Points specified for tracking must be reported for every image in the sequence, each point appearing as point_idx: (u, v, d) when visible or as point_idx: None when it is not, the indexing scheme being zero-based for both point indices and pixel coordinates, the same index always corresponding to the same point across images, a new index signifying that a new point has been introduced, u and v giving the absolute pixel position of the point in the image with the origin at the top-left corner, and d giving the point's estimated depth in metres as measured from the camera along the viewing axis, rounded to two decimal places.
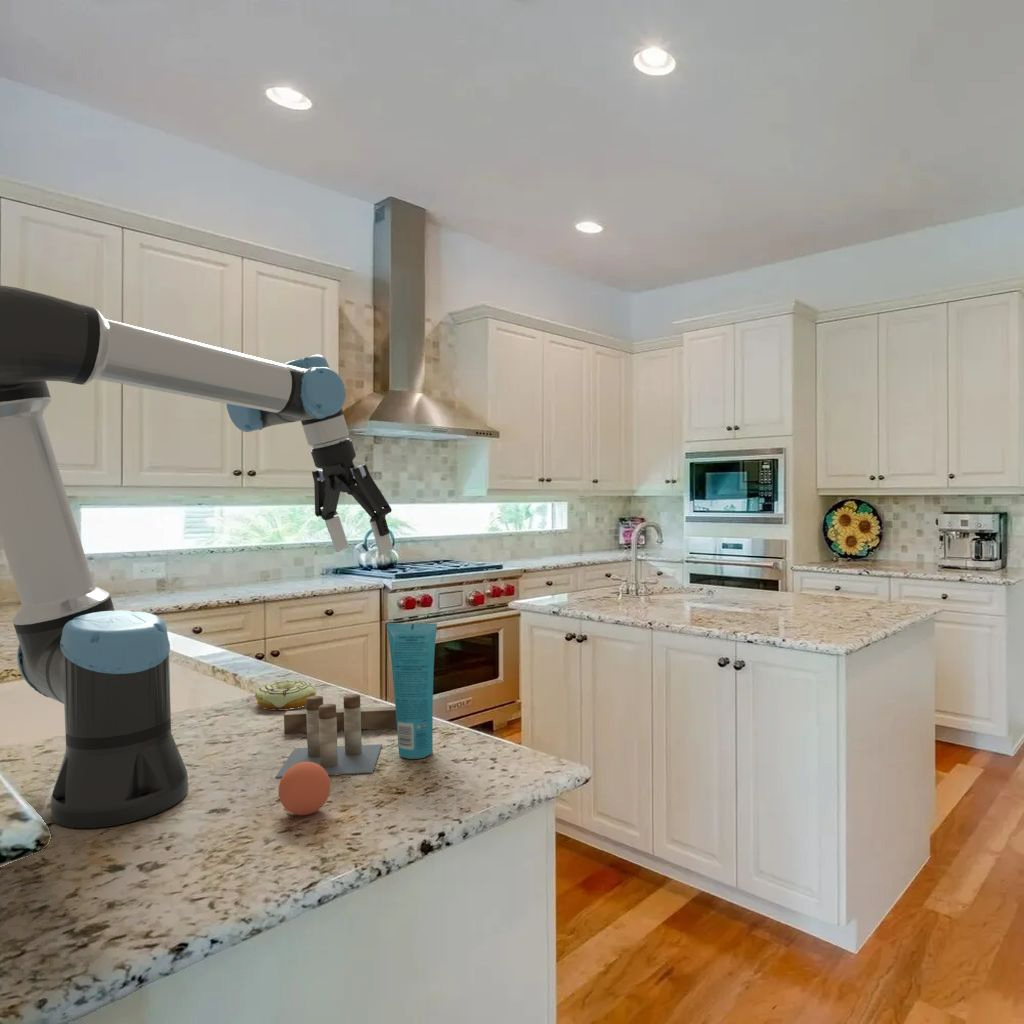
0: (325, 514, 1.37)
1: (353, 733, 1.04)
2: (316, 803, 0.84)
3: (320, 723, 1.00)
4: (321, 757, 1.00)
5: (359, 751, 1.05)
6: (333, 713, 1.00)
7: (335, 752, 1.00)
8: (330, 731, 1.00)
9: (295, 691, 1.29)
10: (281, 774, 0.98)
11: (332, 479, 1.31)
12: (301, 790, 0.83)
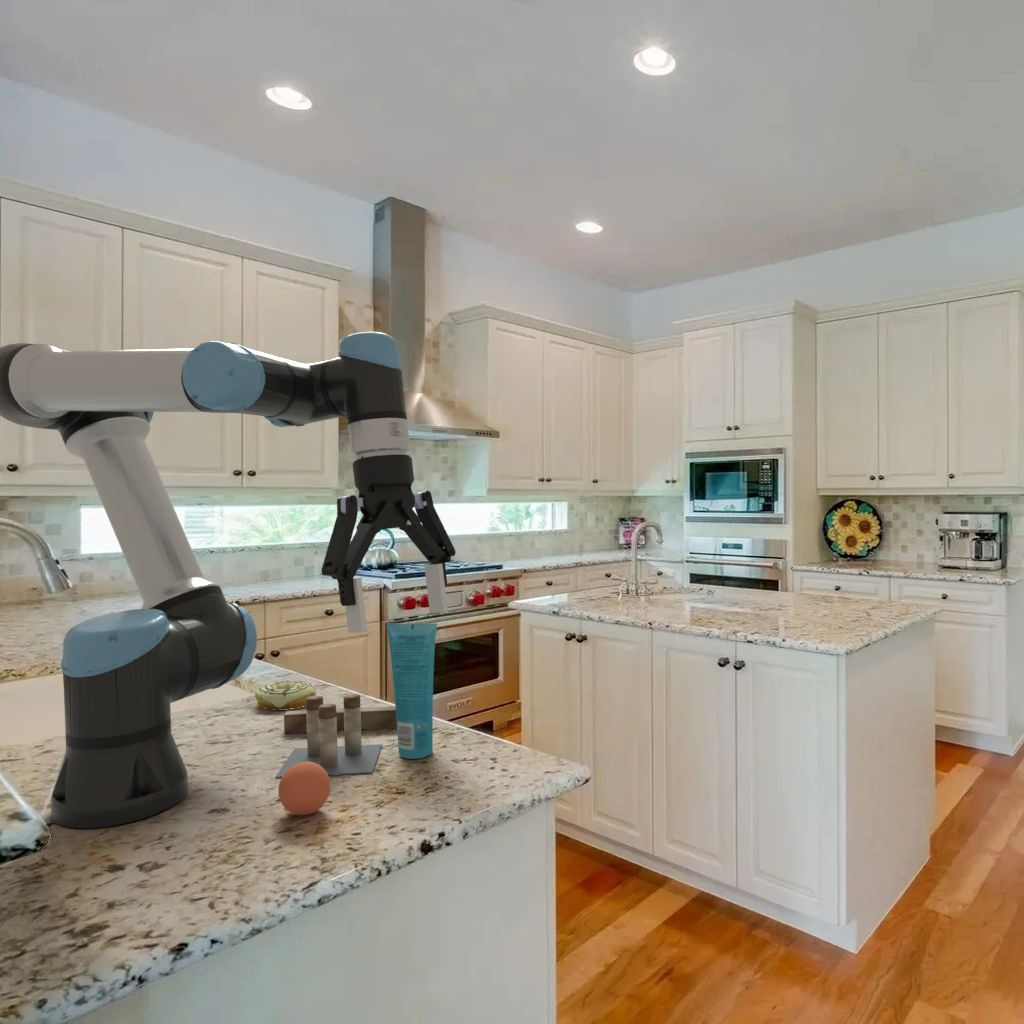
0: None
1: (353, 733, 1.04)
2: (316, 803, 0.84)
3: (320, 723, 1.00)
4: (321, 757, 1.00)
5: (359, 751, 1.05)
6: (333, 713, 1.00)
7: (335, 752, 1.00)
8: (330, 731, 1.00)
9: (295, 691, 1.29)
10: (281, 774, 0.98)
11: None
12: (301, 790, 0.83)
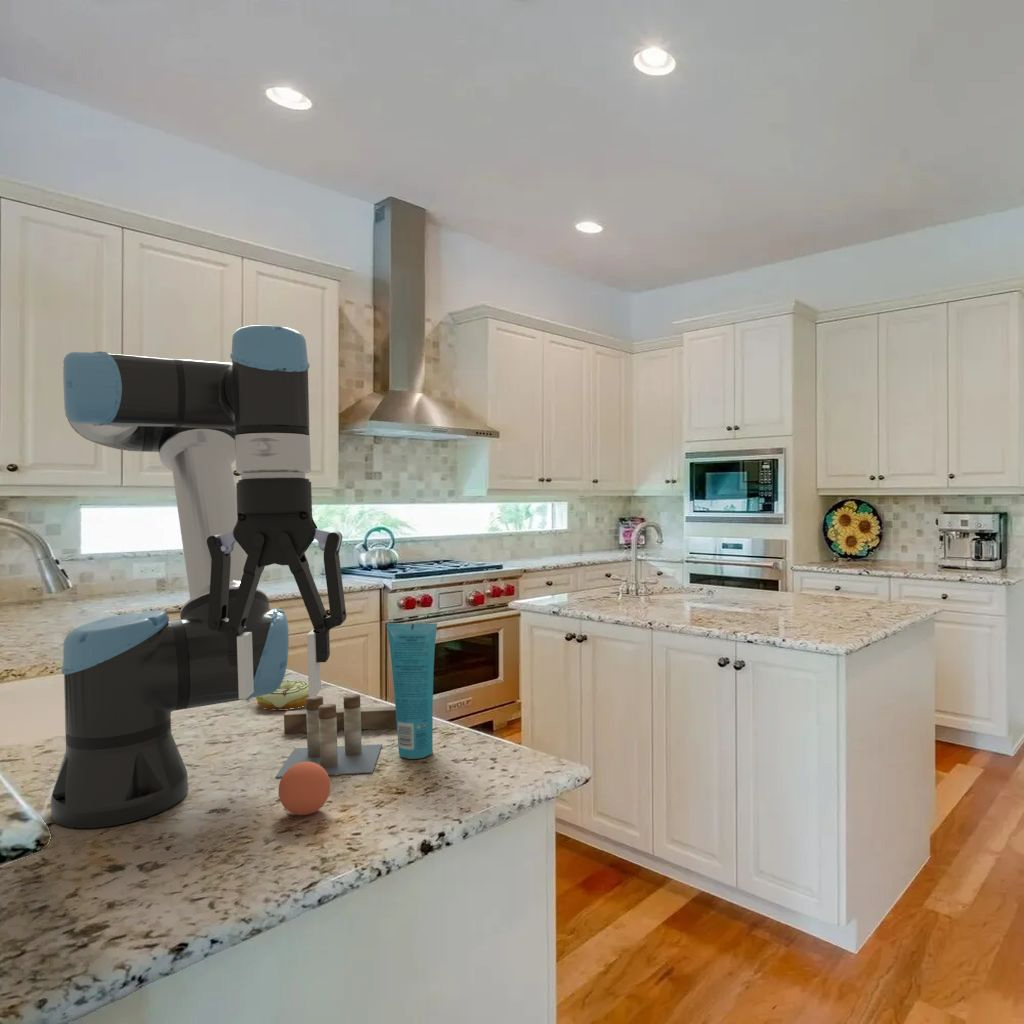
0: None
1: (353, 733, 1.04)
2: (316, 803, 0.84)
3: (320, 723, 1.00)
4: (321, 757, 1.00)
5: (359, 751, 1.05)
6: (333, 713, 1.00)
7: (335, 752, 1.00)
8: (330, 731, 1.00)
9: (295, 691, 1.29)
10: (281, 774, 0.98)
11: None
12: (301, 790, 0.83)
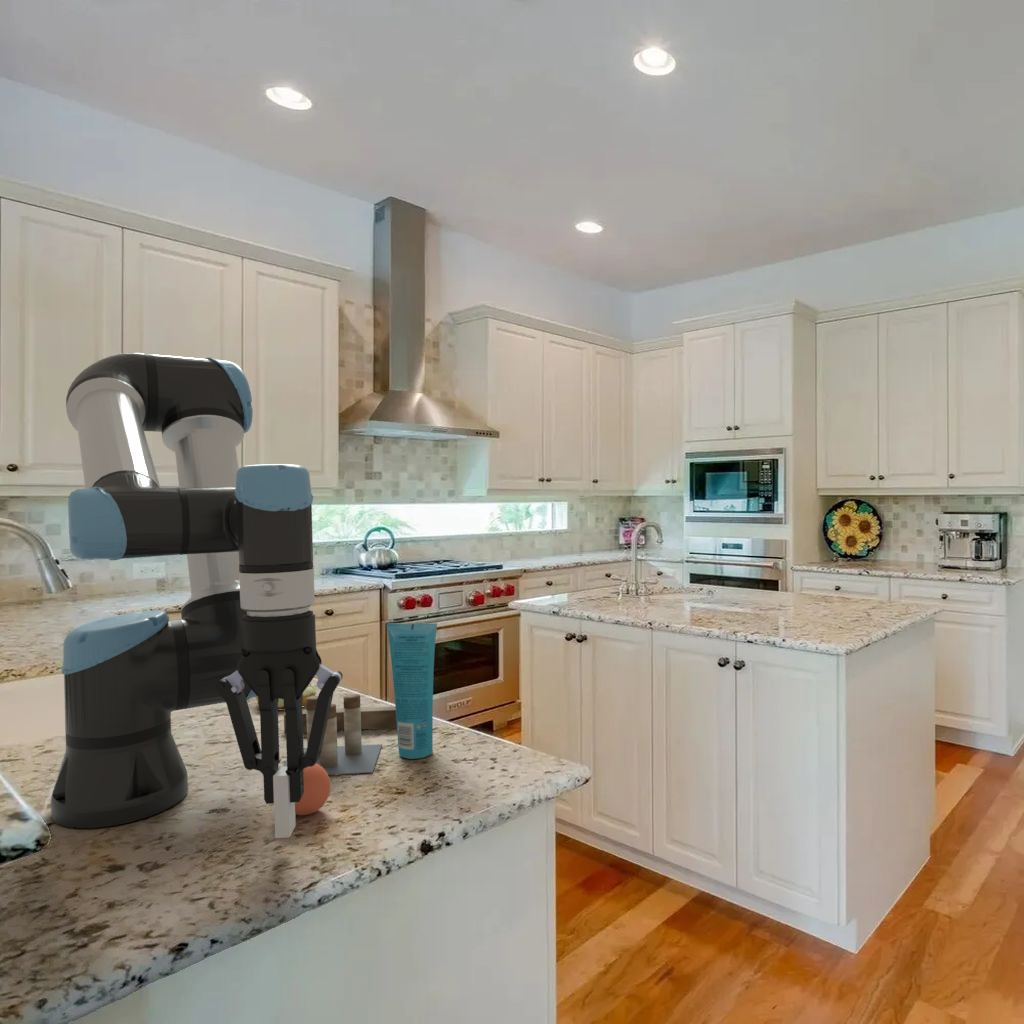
0: None
1: (353, 733, 1.04)
2: (316, 803, 0.84)
3: None
4: (321, 757, 1.00)
5: (359, 751, 1.05)
6: (333, 713, 1.00)
7: (335, 752, 1.00)
8: (330, 731, 1.00)
9: None
10: None
11: None
12: None
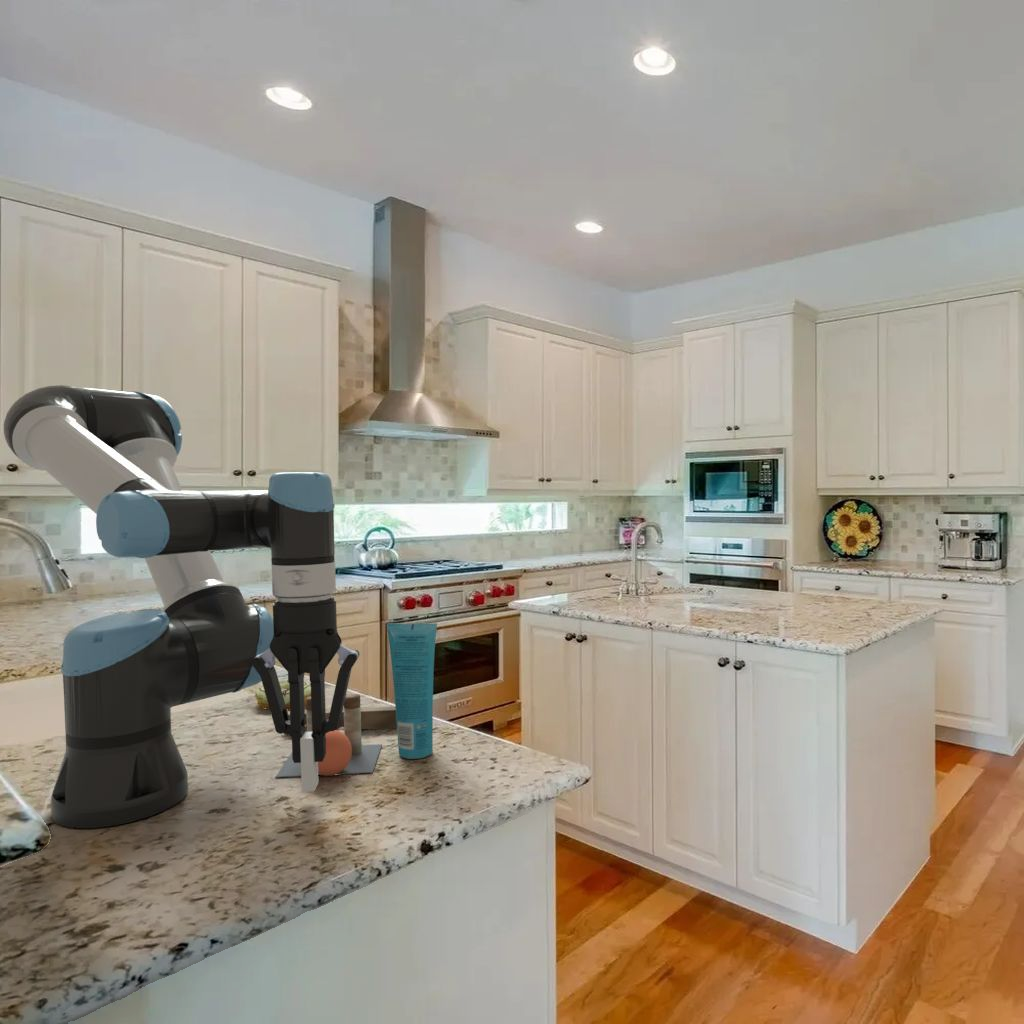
0: None
1: (353, 733, 1.04)
2: None
3: None
4: None
5: (359, 751, 1.05)
6: None
7: None
8: None
9: None
10: (281, 774, 0.98)
11: None
12: None
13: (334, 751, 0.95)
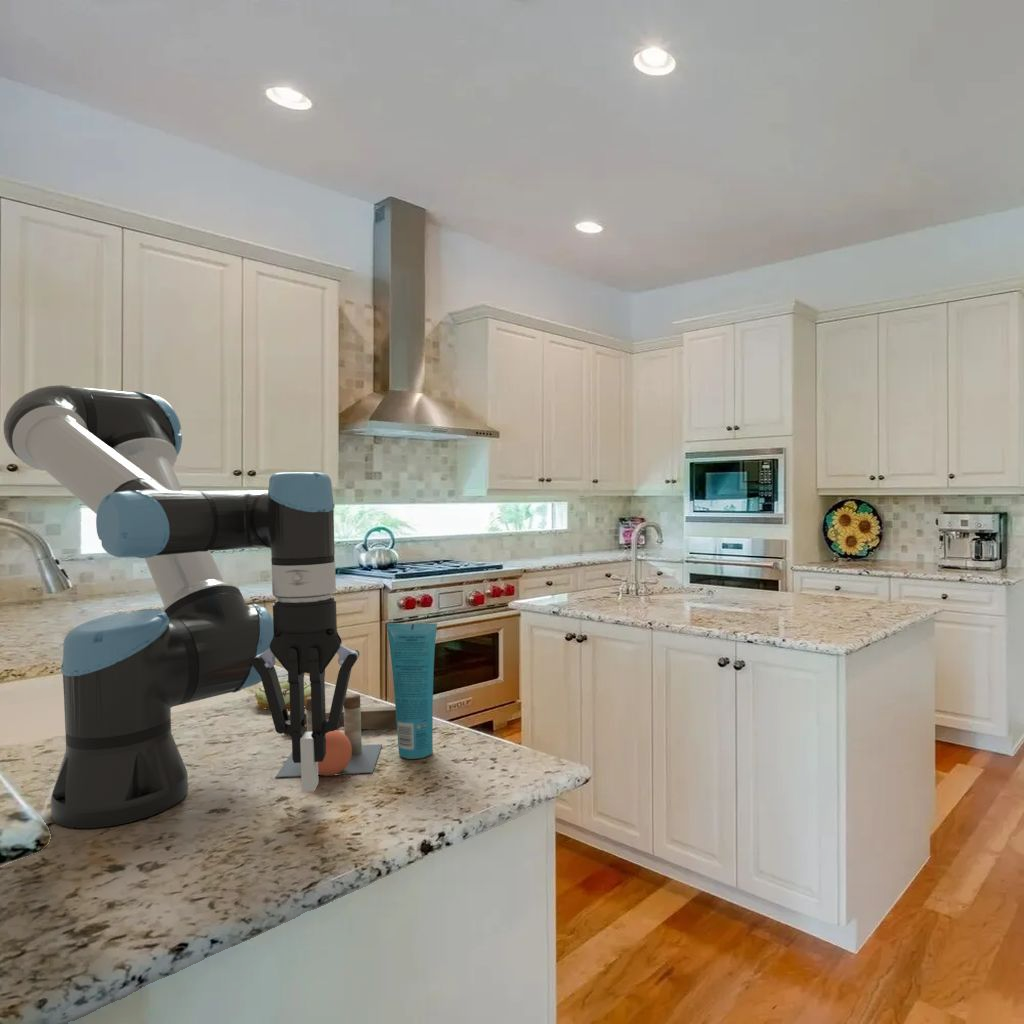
0: None
1: (353, 733, 1.04)
2: None
3: None
4: None
5: (359, 751, 1.05)
6: None
7: None
8: None
9: None
10: (281, 774, 0.98)
11: None
12: None
13: (334, 751, 0.95)
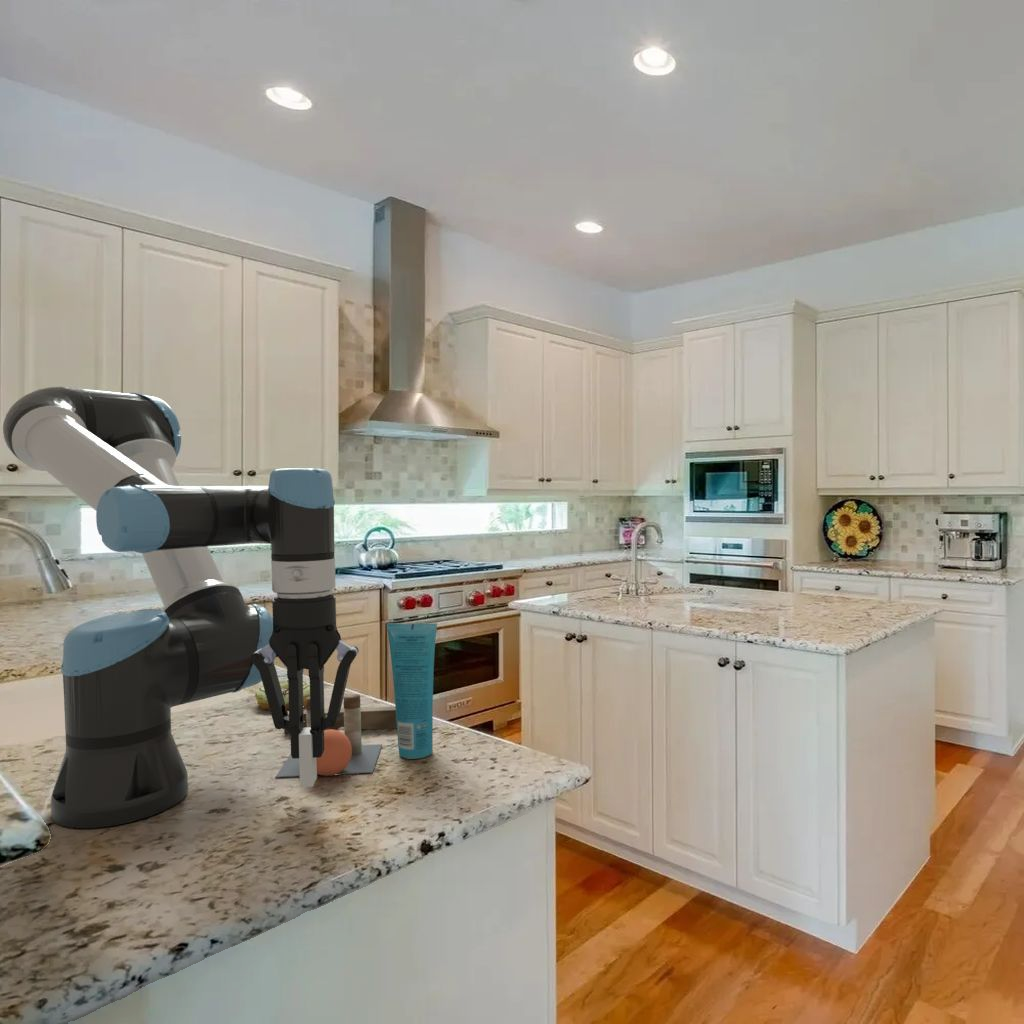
0: None
1: (353, 733, 1.04)
2: None
3: None
4: None
5: (359, 751, 1.05)
6: None
7: None
8: None
9: None
10: (281, 774, 0.98)
11: None
12: None
13: (334, 751, 0.95)
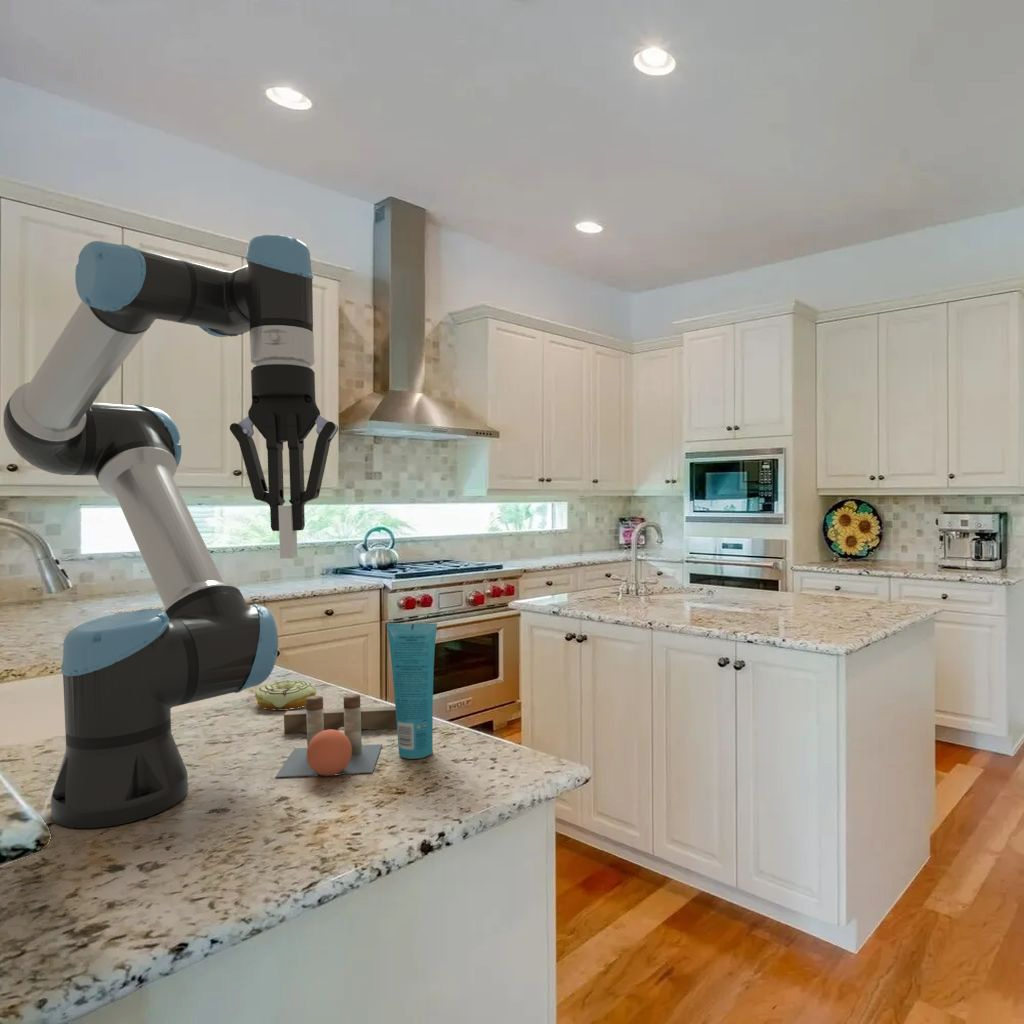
0: None
1: (353, 733, 1.04)
2: None
3: None
4: None
5: (359, 751, 1.05)
6: None
7: None
8: None
9: (295, 691, 1.29)
10: (281, 774, 0.98)
11: None
12: None
13: (334, 751, 0.95)
